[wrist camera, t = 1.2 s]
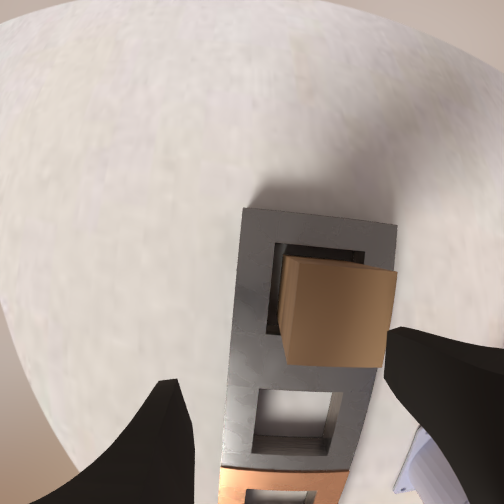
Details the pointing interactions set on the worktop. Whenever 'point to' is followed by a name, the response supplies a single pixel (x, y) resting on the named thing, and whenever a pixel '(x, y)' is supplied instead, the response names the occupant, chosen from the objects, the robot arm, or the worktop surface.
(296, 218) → the rail
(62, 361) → the worktop surface
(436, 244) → the worktop surface
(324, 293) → the peg
